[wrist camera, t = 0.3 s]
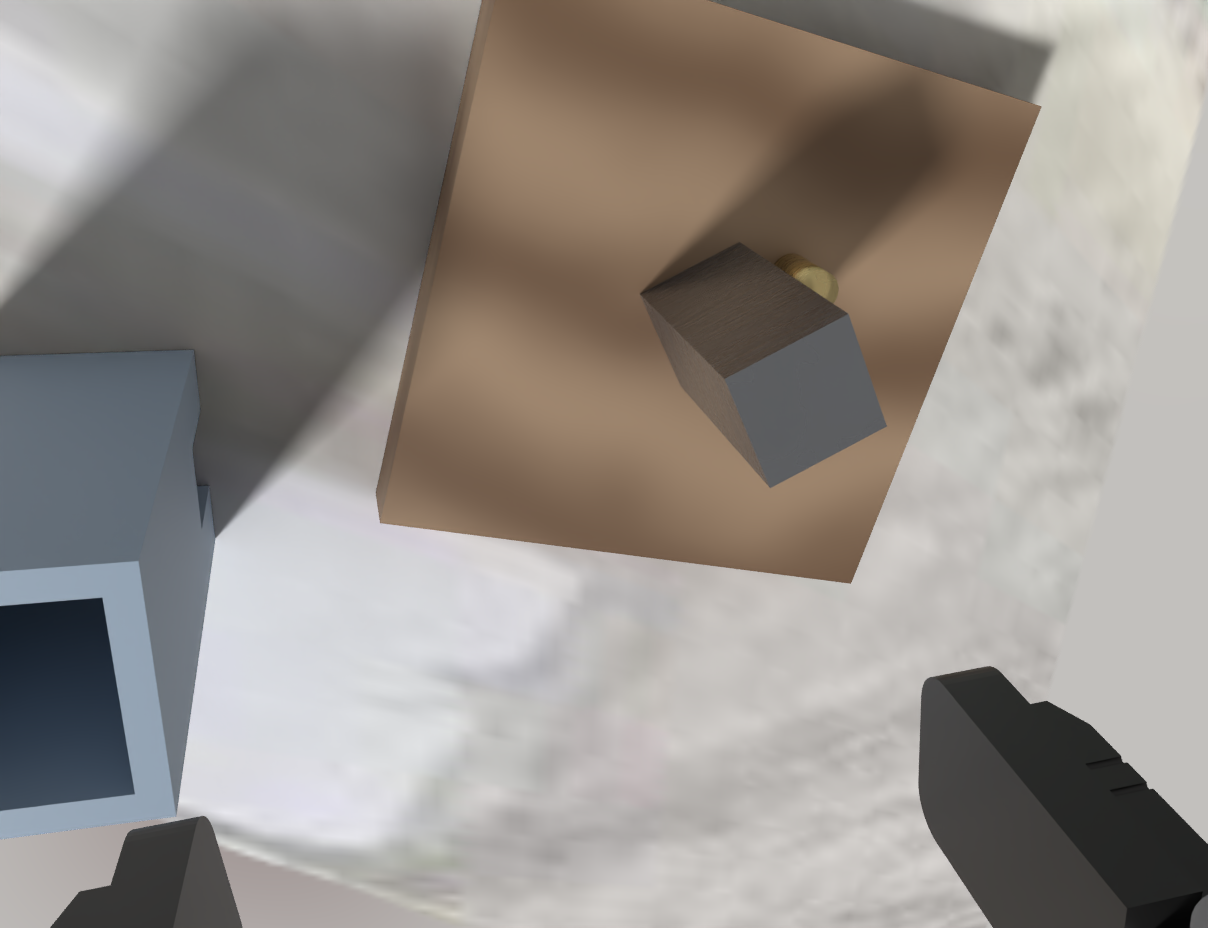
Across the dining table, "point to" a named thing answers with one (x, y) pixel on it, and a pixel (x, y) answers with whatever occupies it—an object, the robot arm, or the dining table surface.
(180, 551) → the sleeve
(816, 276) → the post
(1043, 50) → the dining table surface
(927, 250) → the base plate
